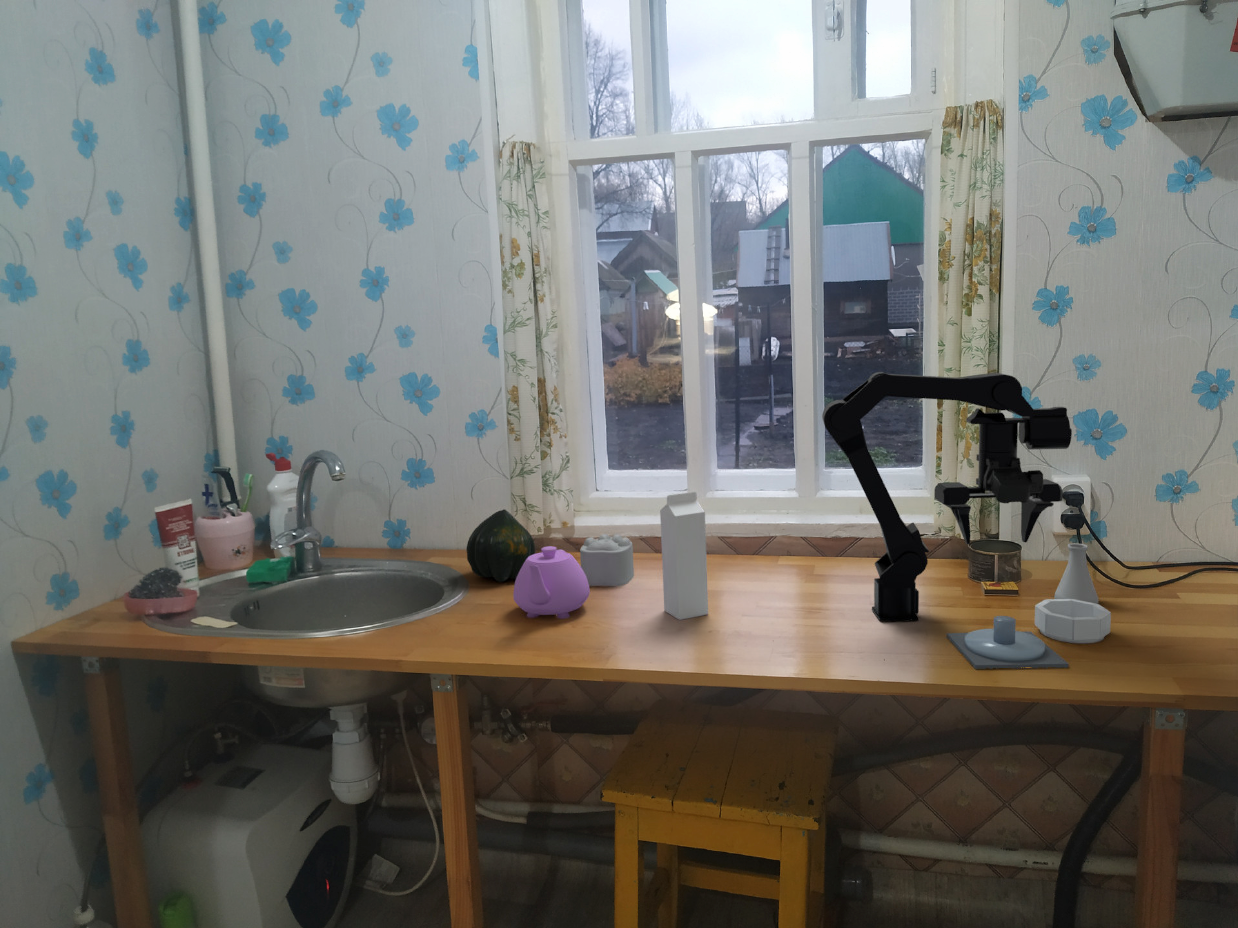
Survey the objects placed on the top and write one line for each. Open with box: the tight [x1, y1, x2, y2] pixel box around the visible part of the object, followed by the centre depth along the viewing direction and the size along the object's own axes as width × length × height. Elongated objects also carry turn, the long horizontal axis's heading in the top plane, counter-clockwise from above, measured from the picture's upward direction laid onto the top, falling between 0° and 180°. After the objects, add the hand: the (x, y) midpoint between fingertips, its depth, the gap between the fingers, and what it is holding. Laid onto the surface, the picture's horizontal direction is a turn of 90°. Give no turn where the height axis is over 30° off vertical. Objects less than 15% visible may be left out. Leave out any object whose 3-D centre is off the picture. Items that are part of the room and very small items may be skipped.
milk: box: [659, 491, 709, 621], centre depth 148 cm, size 6×6×22 cm
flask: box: [1053, 542, 1100, 604], centre depth 146 cm, size 7×7×10 cm
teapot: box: [512, 545, 591, 620], centre depth 153 cm, size 20×14×12 cm
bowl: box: [1034, 598, 1112, 645], centre depth 131 cm, size 10×10×4 cm
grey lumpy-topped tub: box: [579, 533, 635, 587], centre depth 174 cm, size 10×13×9 cm
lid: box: [965, 615, 1046, 662], centre depth 125 cm, size 11×11×4 cm
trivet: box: [946, 630, 1070, 670], centre depth 126 cm, size 13×13×1 cm
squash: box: [466, 509, 536, 583], centre depth 178 cm, size 14×15×15 cm
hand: (995, 542), depth 138 cm, fingers open, 9 cm apart
